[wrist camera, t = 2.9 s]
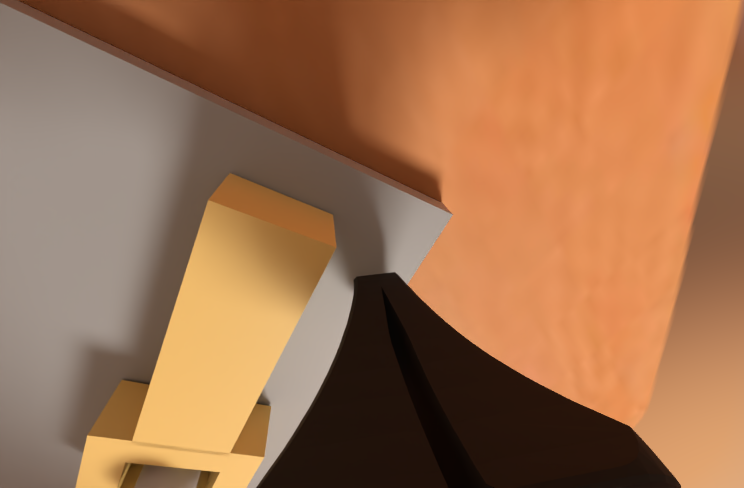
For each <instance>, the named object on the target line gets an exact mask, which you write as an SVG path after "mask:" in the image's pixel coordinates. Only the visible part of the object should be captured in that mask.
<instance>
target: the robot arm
mask: <svg viewBox="0 0 744 488" xmlns="http://www.w3.org/2000/svg"><path fill="white" fill-rule="evenodd" d="M256 488H681V485H680V484H679V482H678V481H677V480H676V478H675V477H674V476H673V475H672V473H671V472H670V471H669V470H668V469H667V468H666V466H665V465H664V464H663V463H662V462H661V460H660V459H659V458H658V457H657V456H656V455H655V453H654V452H653V451H652V450H651V449H650V448H649V447H648V445H646V443H645V442H644V441H643V440H642V439H641V438H640V437H639V436H638V435H637V434H636V432H634V430H633V429H632V428H631V427H630V426H628V425H625V424H623V423H621V422H619V421H616V420H614V419H612V418H610V417H607V416H605V415H603V414H601V413H598V412H596V411H594V410H592V409H589V408H587V407H585V406H583V405H580V404H578V403H576V402H574V401H572V400H570V399H567V398H565V397H564V396H562V395H560V394H558V393H556V392H554V391H552V390H550V389H548V388H546V387H544V386H542V385H540V384H538V383H536V382H534V381H533V380H531V379H529V378H527V377H525V376H524V375H522V374H520V373H518V372H517V371H515V370H513V369H512V368H510V367H508V366H507V365H505V364H503V363H502V362H500V361H498V360H497V359H495V358H494V357H492V356H491V355H489V354H487V353H486V352H484V351H483V350H482V349H480V348H479V347H477V346H476V345H475V344H473V343H472V342H470V341H469V340H468V339H466V338H465V337H464V336H462V335H461V334H460V333H459V332H457V331H456V330H455V329H454V328H452V327H451V326H450V325H449V324H448V323H446V322H445V321H444V320H443V319H442V318H441V317H440V316H438V315H437V314H436V313H435V312H434V311H433V310H432V309H431V308H430V307H429V306H428V305H427V304H426V303H424V302H423V301H422V300H421V299H420V298H419V297H418V296H417V295H416V293H415V292H414V291H413V290H412V289H411V288H410V287H409V286H408V285H407V284H406V283H405V282H404V281H403V280H402V278H401V277H400V276H399V275H398V274H397V273H396V272H391V273H382V274H374V275H365V276H357V277H356V278H355V279H354V294H353V300H352V305H351V309H350V313H349V317H348V321H347V325H346V328H345V330H344V333H343V336H342V339H341V342H340V345H339V348H338V350H337V353H336V355H335V357H334V360H333V362H332V364H331V366H330V369H329V371H328V373H327V375H326V377H325V379H324V381H323V383H322V385H321V387H320V389H319V391H318V393H317V395H316V397H315V398H314V400H313V402H312V404H311V406H310V407H309V409H308V411H307V412H306V414H305V416H304V417H303V419H302V420H301V422H300V424H299V425H298V427H297V429H296V430H295V432H294V433H293V435H292V437H291V438H290V440H289V441H288V443H287V444H286V446H285V447H284V449H283V450H282V452H281V453H280V455H279V456H278V458H277V459H276V460H275V462H274V463H273V465H272V466H271V467H270V469H269V470H268V472H267V473H266V474H265V476H264V477H263V479H262V480H261V481H260V483H259V484H258V486H257V487H256Z"/></svg>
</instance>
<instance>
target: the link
mask: <svg viewBox="0 0 744 488" xmlns="http://www.w3.org/2000/svg"><path fill="white" fill-rule="evenodd" d="M335 249H336V239H335V229H334V219H333V215H332V214H330V213H328V212H325V211H323V210H320V209H318V208H315V207H313V206H310V205H308V204H305V203H303V202H300V201H298V200H295V199H293V198H291V197H288V196H286V195H283V194H281V193H278V192H276V191H273V190H271V189H268V188H266V187H263V186H261V185H258V184H256V183H254V182H251V181H249V180H246V179H244V178H241V177H239V176H236V175H234V174H231V173H229V175H228V176H227V177H226V178H225V180H224V181H223V182H222V183H221V185H220V186H219V187H218V188H217V190H216V191H215V192H214V193H213V195H212V196H211V197H210V198H209V200H208V202H207V205H206V208H205V211H204V215H203V218H202V221H201V224H200V227H199V230H198V234H197V237H196V240H195V243H194V246H193V249H192V253H191V256H190V259H189V262H188V265H187V268H186V272H185V275H184V278H183V281H182V284H181V287H180V291H179V294H178V297H177V300H176V303H175V306H174V310H173V313H172V316H171V319H170V322H169V325H168V329H167V332H166V335H165V338H164V341H163V344H162V348H161V351H160V354H159V357H158V360H157V364H156V367H155V370H154V373H153V376H152V379H151V383H150V385H148V384H143V383H137V382H132V381H126V380H121V382H120V383H119V385H118V387H117V388H116V390H115V391H114V393H113V395H112V396H111V398H110V399H109V401H108V403H107V404H106V406H105V408H104V409H103V411H102V412H101V414H100V416H99V417H98V419H97V420H96V422H95V424H94V425H93V427H92V429H91V430H90V432H89V433H88V435H87V439H86V443H85V447H84V452H83V456H82V461H81V465H80V470H79V474H78V478H77V483H76V487H75V488H134V487H135V484H136V482H137V480H138V477H139V475H140V473H141V471H142V468H143V466H144V464H145V465H155V466H165V467H174V468H184V469H194V470H201V473H200V476H199V480H198V483H197V487H196V488H247V486H248V484H249V483H250V481H251V479H252V478H253V476H254V474H255V472H256V471H257V469H258V467H259V466H260V464H261V462H262V461H263V459H264V457H265V449H266V442H267V434H268V427H269V419H270V412H271V406H266V405H261V404H256V402H257V400H258V398H259V396H260V394H261V392H262V390H263V388H264V386H265V385H266V383H267V381H268V379H269V377H270V375H271V373H272V371H273V369H274V367H275V365H276V363H277V361H278V359H279V357H280V356H281V354H282V352H283V350H284V348H285V346H286V344H287V342H288V340H289V338H290V336H291V334H292V332H293V330H294V328H295V327H296V325H297V323H298V321H299V319H300V317H301V315H302V313H303V311H304V309H305V307H306V305H307V303H308V301H309V300H310V298H311V296H312V294H313V292H314V290H315V288H316V286H317V284H318V282H319V280H320V278H321V276H322V274H323V272H324V271H325V269H326V267H327V265H328V263H329V261H330V259H331V257H332V255H333V253H334V251H335Z"/></svg>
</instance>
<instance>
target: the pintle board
mask: <svg viewBox="0 0 744 488" xmlns="http://www.w3.org/2000/svg"><path fill="white" fill-rule="evenodd" d="M229 173H231V174H234V175H236V176H239V177H241V178H244V179H246V180H249V181H251V182H254V183H256V184H258V185H261V186H263V187H266V188H268V189H271V190H273V191H276V192H278V193H281V194H283V195H286V196H288V197H291V198H293V199H295V200H298V201H300V202H303V203H305V204H308V205H310V206H313V207H315V208H318V209H320V210H323V211H325V212H328V213H330V214H332V215H333V219H334V229H335V239H336V249H335V251H334V253H333V255H332V257H331V259H330V261H329V263H328V265H327V267H326V269H325V271H324V272H323V274H322V276H321V278H320V280H319V282H318V284H317V286H316V288H315V290H314V292H313V294H312V296H311V298H310V300H309V301H308V303H307V305H306V307H305V309H304V311H303V313H302V315H301V317H300V319H299V321H298V323H297V325H296V327H295V328H294V330H293V332H292V334H291V336H290V338H289V340H288V342H287V344H286V346H285V348H284V350H283V352H282V354H281V356H280V357H279V359H278V361H277V363H276V365H275V367H274V369H273V371H272V373H271V375H270V377H269V379H268V381H267V383H266V385H265V386H264V388H263V390H262V392H261V394H260V396H259V398H258V400H257V402H256V404H261V405H266V406H271V412H270V419H269V427H268V434H267V442H266V449H265V457H264V459H263V461H262V462H261V464H260V466H259V467H258V469H257V471H256V472H255V474H254V476H253V478H252V479H251V481H250V483H249V484H248V486H247V488H256V487H257V486H258V484H259V483H260V481H261V480H262V479H263V477H264V476H265V474H266V473H267V472H268V470H269V469H270V467H271V466H272V465H273V463H274V462H275V460H276V459H277V458H278V456H279V455H280V453H281V452H282V450H283V449H284V447H285V446H286V444H287V443H288V441H289V440H290V438H291V437H292V435H293V433H294V432H295V430H296V429H297V427H298V425H299V424H300V422H301V420H302V419H303V417H304V416H305V414H306V412H307V411H308V409H309V407H310V406H311V404H312V402H313V400H314V398H315V397H316V395H317V393H318V391H319V389H320V387H321V385H322V383H323V381H324V379H325V377H326V375H327V373H328V371H329V369H330V366H331V364H332V362H333V360H334V357H335V355H336V353H337V350H338V348H339V345H340V342H341V339H342V336H343V333H344V330H345V328H346V325H347V321H348V317H349V313H350V309H351V305H352V300H353V294H354V279H355V278H356V277H357V276H365V275H374V274H382V273H391V272H396V273H397V274H398V275H399V276H400V277H401V278H402V280H403V281H404V282H405V283H406V284H408V283H409V281H410V280H411V278H412V277H413V275H414V273H415V272H416V270H417V269H418V267H419V266H420V264H421V263H422V261H423V260H424V258H425V257H426V255H427V254H428V252H429V250H430V249H431V247H432V246H433V244H434V243H435V241H436V240H437V238H438V237H439V235H440V234H441V232H442V231H443V229H444V227H445V226H446V224H447V223H448V221H449V220H450V218H451V217H452V215H453V214H452V213H451V212H450V211H449V210H448V209H447V208H446V207H445V205H444V204H443V203H441V202H439V201H437V200H435V199H433V198H431V197H428V196H426V195H424V194H422V193H420V192H418V191H416V190H414V189H412V188H410V187H408V186H405V185H403V184H401V183H399V182H397V181H395V180H393V179H391V178H389V177H387V176H384V175H382V174H380V173H378V172H376V171H374V170H372V169H370V168H368V167H366V166H364V165H361V164H359V163H357V162H355V161H353V160H351V159H349V158H347V157H345V156H343V155H340V154H338V153H336V152H334V151H332V150H330V149H328V148H326V147H324V146H322V145H320V144H317V143H315V142H313V141H311V140H309V139H307V138H305V137H303V136H301V135H299V134H296V133H294V132H292V131H290V130H288V129H286V128H284V127H282V126H280V125H278V124H276V123H273V122H271V121H269V120H267V119H265V118H263V117H261V116H259V115H257V114H255V113H252V112H250V111H248V110H246V109H244V108H242V107H240V106H238V105H236V104H234V103H232V102H229V101H227V100H225V99H223V98H221V97H219V96H217V95H215V94H213V93H211V92H208V91H206V90H204V89H202V88H200V87H198V86H196V85H194V84H192V83H190V82H188V81H185V80H183V79H181V78H179V77H177V76H175V75H173V74H171V73H169V72H167V71H164V70H162V69H160V68H158V67H156V66H154V65H152V64H150V63H148V62H146V61H144V60H141V59H139V58H137V57H135V56H133V55H131V54H129V53H127V52H125V51H123V50H120V49H118V48H116V47H114V46H112V45H110V44H108V43H106V42H104V41H102V40H100V39H97V38H95V37H93V36H91V35H89V34H87V33H85V32H83V31H81V30H79V29H76V28H74V27H72V26H70V25H68V24H66V23H64V22H62V21H60V20H58V19H56V18H53V17H51V16H49V15H47V14H45V13H43V12H41V11H39V10H37V9H35V8H32V7H30V6H28V5H26V4H24V3H22V2H20V1H18V0H0V488H75V487H76V483H77V478H78V474H79V470H80V465H81V461H82V456H83V452H84V447H85V443H86V439H87V435H88V433H89V432H90V430H91V429H92V427H93V425H94V424H95V422H96V420H97V419H98V417H99V416H100V414H101V412H102V411H103V409H104V408H105V406H106V404H107V403H108V401H109V399H110V398H111V396H112V395H113V393H114V391H115V390H116V388H117V387H118V385H119V383H120V382H121V380H126V381H132V382H137V383H143V384H148V385H150V383H151V379H152V376H153V373H154V370H155V367H156V364H157V360H158V357H159V354H160V351H161V348H162V344H163V341H164V338H165V335H166V332H167V329H168V325H169V322H170V319H171V316H172V313H173V310H174V306H175V303H176V300H177V297H178V294H179V291H180V287H181V284H182V281H183V278H184V275H185V272H186V268H187V265H188V262H189V259H190V256H191V253H192V249H193V246H194V243H195V240H196V237H197V234H198V230H199V227H200V224H201V221H202V218H203V215H204V211H205V208H206V205H207V202H208V200H209V198H210V197H211V196H212V195H213V193H214V192H215V191H216V190H217V188H218V187H219V186H220V185H221V183H222V182H223V181H224V180H225V178H226V177H227V176H228V175H229ZM200 473H201V470H194V469H184V468H174V467H165V466H155V465H145V464H144V466H143V468H142V471H141V473H140V475H139V477H138V480H137V482H136V484H135V487H134V488H196V487H197V483H198V480H199V476H200Z"/></svg>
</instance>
